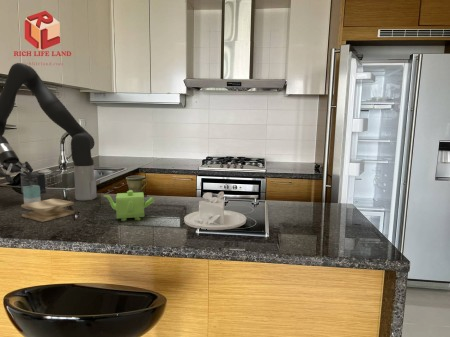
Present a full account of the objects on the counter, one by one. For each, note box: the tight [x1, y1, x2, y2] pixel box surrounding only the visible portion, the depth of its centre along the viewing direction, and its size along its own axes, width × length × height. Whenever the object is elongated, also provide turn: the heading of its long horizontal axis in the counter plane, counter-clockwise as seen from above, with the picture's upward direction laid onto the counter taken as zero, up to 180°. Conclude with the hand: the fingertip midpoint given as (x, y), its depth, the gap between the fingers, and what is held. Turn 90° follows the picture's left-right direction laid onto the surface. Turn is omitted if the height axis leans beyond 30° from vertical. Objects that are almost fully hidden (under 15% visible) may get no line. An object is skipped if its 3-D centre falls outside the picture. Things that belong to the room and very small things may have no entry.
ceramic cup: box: [125, 175, 149, 193], centre depth 175 cm, size 13×10×10 cm
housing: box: [22, 185, 42, 211], centre depth 148 cm, size 5×5×10 cm
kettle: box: [103, 189, 155, 222], centre depth 133 cm, size 15×14×11 cm
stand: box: [20, 198, 75, 223], centre depth 136 cm, size 14×14×5 cm
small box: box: [19, 173, 47, 195], centre depth 180 cm, size 11×6×10 cm, turn 84°
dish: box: [183, 191, 247, 231], centre depth 131 cm, size 25×25×11 cm
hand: (21, 181), depth 150 cm, fingers open, 8 cm apart
